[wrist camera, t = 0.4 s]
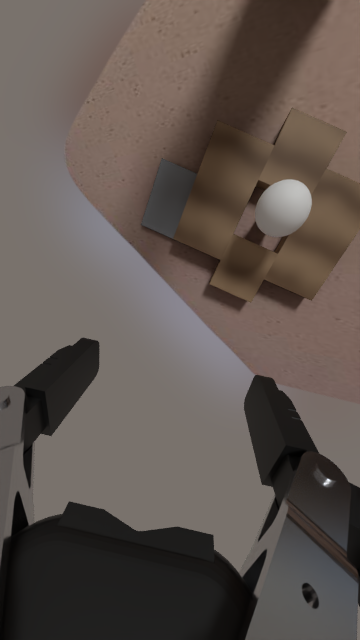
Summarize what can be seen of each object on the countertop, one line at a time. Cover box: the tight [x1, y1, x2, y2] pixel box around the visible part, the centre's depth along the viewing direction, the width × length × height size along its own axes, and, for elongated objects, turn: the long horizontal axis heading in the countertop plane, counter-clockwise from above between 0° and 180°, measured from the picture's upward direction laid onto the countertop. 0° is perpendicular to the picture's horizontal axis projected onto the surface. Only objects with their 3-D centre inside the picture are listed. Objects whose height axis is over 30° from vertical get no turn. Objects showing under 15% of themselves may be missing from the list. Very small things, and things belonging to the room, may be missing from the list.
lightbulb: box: [255, 179, 312, 237], centre depth 26 cm, size 6×6×11 cm
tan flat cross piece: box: [173, 108, 360, 302], centre depth 30 cm, size 24×24×2 cm
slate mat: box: [141, 158, 197, 241], centre depth 32 cm, size 10×9×1 cm
